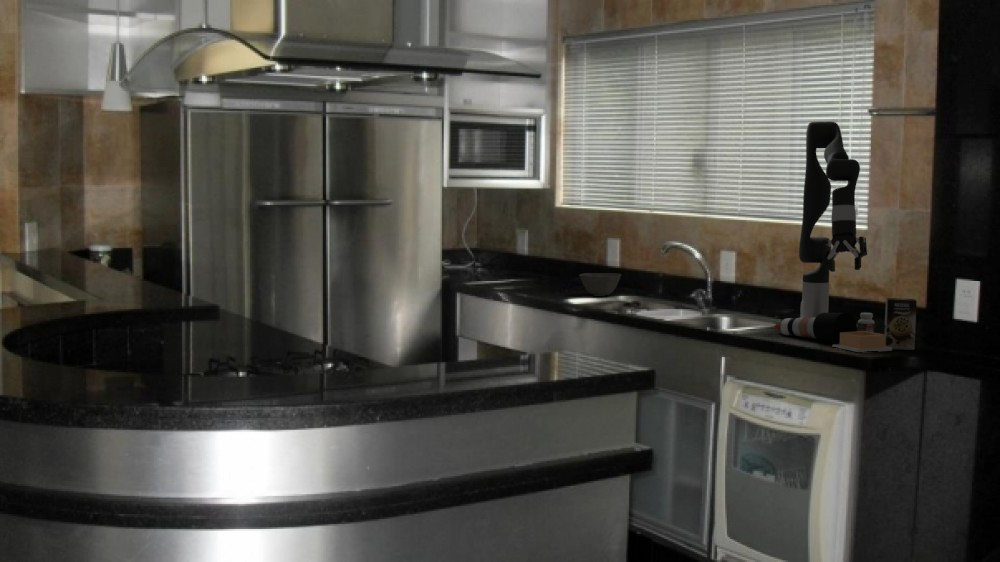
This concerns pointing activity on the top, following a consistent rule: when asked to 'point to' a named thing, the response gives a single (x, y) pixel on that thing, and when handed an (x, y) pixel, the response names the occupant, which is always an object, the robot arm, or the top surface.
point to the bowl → (600, 282)
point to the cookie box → (900, 323)
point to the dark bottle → (819, 326)
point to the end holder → (862, 341)
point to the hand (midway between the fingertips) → (844, 270)
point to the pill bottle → (866, 322)
